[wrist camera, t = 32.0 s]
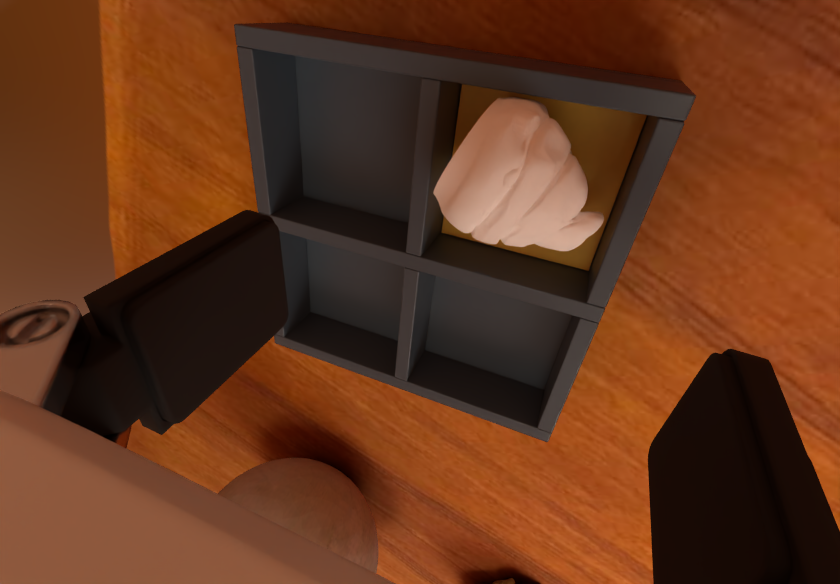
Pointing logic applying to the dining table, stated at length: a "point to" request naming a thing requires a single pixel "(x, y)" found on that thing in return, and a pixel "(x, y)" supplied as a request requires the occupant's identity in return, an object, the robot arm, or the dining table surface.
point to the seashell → (505, 581)
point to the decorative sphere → (311, 505)
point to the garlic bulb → (517, 181)
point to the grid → (422, 217)
